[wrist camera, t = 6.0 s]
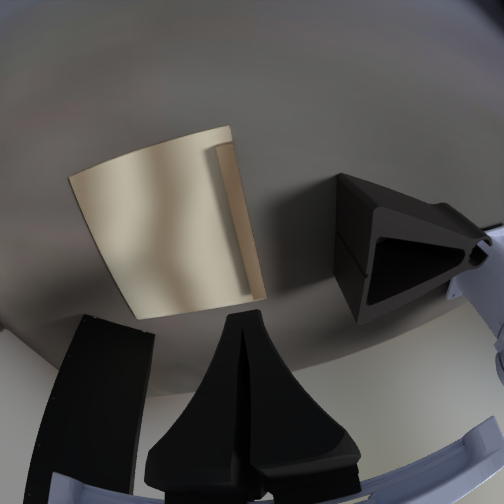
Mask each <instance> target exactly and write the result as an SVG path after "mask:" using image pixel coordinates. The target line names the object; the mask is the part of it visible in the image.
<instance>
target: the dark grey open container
mask: <svg viewBox="0 0 504 504" xmlns="http://www.w3.org/2000/svg"><path fill="white" fill-rule="evenodd" d="M336 229H337V230H338V231H337V232H336V235H335V255H334V271H333V274H334V276H335V278H336V280H337V282H338V284H339V286H340V289H341V291H342V293H343V295H344V297H345V299H346V301H347V303H348V306H349V308H350V310H351V312H352V314H353V316H354V319H355V321H356V323H357V325H358V326H362V325H364V324H366V323H369V322H371V321H373V320H375V319H377V318H379V317H381V316H383V315H385V314H387V313H389V312H391V311H393V310H395V309H397V308H399V307H401V306H403V305H405V304H407V303H409V302H411V301H413V300H415V299H417V298H418V297H420V296H422V295H424V294H426V293H428V292H429V291H431V290H433V289H435V288H436V287H438V286H440V285H442V284H443V283H445V282H447V281H448V280H450V279H452V278H453V277H455V276H457V275H458V274H460V273H462V272H464V271H467V270H473V269H477V268H479V267H480V266H482V265H483V264H484V263H485V261H486V260H487V259H488V257H489V255H488V254H487V253H486V252H485V251H484V250H483V249H482V248H481V247H479V246H478V245H477V244H478V243H479V242H480V241H482V240H483V241H484V242H485V243H486V244H487V245H489V246H490V247H491V246H492V245H493V242H492V239H491V237H490V236H488V235H487V234H486V233H485V232H484V231H482V230H481V229H480V228H479V227H477V226H476V225H475V224H474V223H472V222H471V221H470V220H469V219H467V218H466V217H465V216H463V215H462V214H461V213H460V212H458V211H457V210H456V209H454V208H453V207H451V206H450V205H449V204H447V203H440V204H428V203H425V202H423V201H420V200H418V199H415V198H413V197H410V196H407V195H405V194H402V193H399V192H397V191H394V190H391V189H389V188H386V187H383V186H380V185H377V184H374V183H371V182H368V181H365V180H362V179H359V178H356V177H353V176H350V175H347V174H343V173H340V174H339V175H338V176H337V199H336ZM379 237H388V238H391V239H389V240H386V241H384V242H381V243H378V244H376V240H377V239H378V238H379Z"/></svg>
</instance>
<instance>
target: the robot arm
mask: <svg viewBox="0 0 504 504" xmlns="http://www.w3.org/2000/svg"><path fill="white" fill-rule="evenodd" d="M484 232H485V233H486V234H487V235H488V236H490V237H491V239H492V242H493V245H492V246H491V247H490V246H489V245H487V244H486V243H485V242H484V241H483V240H482V241H480V242H479V243H478V244H477V245H478V246H479V247H481V248H482V249H483V250H484V251H485V252H486V253H487V254H488V255H489V257H488V259H487V260H486V261H485V263H484V264H483V265H482V266H480V267H479V268H477V269H473V270H467V271H464V272H462V273H460V274H458V275H457V276H455V277H453V278H452V279H451V280H450V284H449V287H448V291H447V294H446V299H447V300H450V299H453V298H456V297H458V296H461V295H463V294H464V295H465V297H466V298H467V299H468V300H469V302H470V303H471V304H472V305H473V307H474V308H475V309H476V310H477V312H478V313H479V315H480V316H481V317H482V319H483V320H484V321H485V323H486V324H487V325H488V327H489V328H490V329H491V331H492V332H493V334H494V335H495V337H496V338H497V341H496V343H495V344H494V346H495V348H496V349H497V351H498V352H497V354H496V358H495V362H496V370H497V374H498V377H499V379H500V381H501V382H502V384H503V385H504V226H501V227H498V228H494V229H491V230H487V231H484ZM360 458H361V453H360V451H359V449H358V447H357V445H356V443H355V442H354V441H353V439H352V438H351V436H350V435H349V434H348V432H347V431H346V430H345V429H344V428H343V427H342V426H341V425H339V424H338V423H337V422H336V421H335V420H334V419H333V418H331V417H330V416H329V415H328V414H327V413H326V412H325V411H324V410H323V409H322V408H321V407H320V406H319V405H318V404H317V403H316V402H315V401H314V400H313V399H312V398H311V396H310V395H309V394H308V393H307V392H306V391H305V390H304V388H303V387H302V386H301V385H300V384H299V382H298V381H297V380H296V379H295V377H294V376H293V375H292V373H291V372H290V370H289V369H288V367H287V366H286V365H285V363H284V361H283V360H282V358H281V357H280V355H279V353H278V352H277V350H276V348H275V346H274V345H273V343H272V341H271V339H270V337H269V335H268V333H267V330H266V328H265V326H264V322H263V318H262V314H261V311H260V310H258V309H256V310H251V311H245V312H239V313H234V314H229V315H228V316H227V317H226V322H225V325H224V329H223V332H222V335H221V338H220V341H219V344H218V346H217V349H216V351H215V354H214V357H213V359H212V361H211V363H210V366H209V368H208V370H207V372H206V374H205V376H204V378H203V380H202V382H201V384H200V386H199V387H198V389H197V391H196V393H195V394H194V396H193V398H192V399H191V401H190V402H189V404H188V405H187V407H186V408H185V410H184V411H183V413H182V414H181V415H180V417H179V418H178V419H177V420H176V422H175V423H174V424H173V425H172V427H171V428H170V429H169V430H168V432H167V433H166V434H165V435H164V436H163V437H162V438H161V439H160V440H159V441H158V442H157V443H156V444H155V445H154V446H153V447H152V448H151V449H150V450H149V452H148V456H147V460H146V466H145V476H144V482H145V483H146V484H147V485H148V486H150V487H152V488H155V489H158V490H160V491H163V492H165V500H161V499H153V498H146V497H140V496H134V495H129V494H123V493H119V492H114V491H110V490H105V489H101V488H98V487H94V486H90V485H87V484H83V483H82V482H80V481H78V480H75V479H73V478H70V477H68V476H65V475H62V474H59V473H56V472H53V475H52V480H51V486H50V493H49V500H48V504H338V503H342V502H345V501H349V500H353V499H356V498H360V497H363V496H366V495H369V494H371V495H370V496H369V497H368V500H364V501H361V502H358V503H355V504H453V503H454V502H456V501H458V500H459V499H461V498H462V497H464V496H465V495H467V494H468V493H469V492H471V491H472V490H474V489H475V488H477V487H478V486H479V485H480V484H482V483H483V482H485V481H486V480H487V479H489V478H490V477H492V476H493V475H494V474H495V473H497V472H498V471H499V470H501V469H502V468H503V467H504V437H503V435H502V432H501V430H500V427H499V425H498V423H497V421H496V419H495V416H491V417H490V418H488V419H487V420H485V421H484V422H482V423H481V424H479V425H478V426H476V427H474V428H473V429H472V430H470V431H469V432H468V433H466V434H465V435H464V436H463V437H462V438H461V439H459V440H457V441H455V442H454V443H452V444H450V445H448V446H446V447H444V448H442V449H440V450H438V451H437V452H434V453H432V454H430V455H428V456H426V457H424V458H422V459H420V460H418V461H415V462H413V463H411V464H408V465H406V466H403V467H401V468H398V469H396V470H394V471H391V472H388V473H385V474H382V475H380V476H377V477H374V478H371V479H368V480H364V481H361V482H360V481H359V476H358V473H359V470H358V466H357V462H358V461H359V459H360ZM267 492H269V493H271V494H272V495H273V498H274V500H266V501H254V500H260V499H261V498H262V497H264V495H266V493H267Z"/></svg>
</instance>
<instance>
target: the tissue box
mask: <svg viewBox="0 0 504 504" xmlns="http://www.w3.org/2000/svg"><path fill="white" fill-rule="evenodd" d="M154 339H155V335H154V334H150V333H147V332H145V331H140V330H136V329H132V328H129V327H125V326H122V325H118V324H115V323H111V322H108V321H105V320H102V319H98V318H96V317H92V316H88V315H84V316H83V318H82V320H81V322H80V324H79V326H78V328H77V331H76V333H75V335H74V337H73V339H72V342H71V344H70V346H69V348H68V351H67V353H66V355H65V358H64V360H63V363H62V365H61V367H60V370H59V373H58V375H57V378H56V380H55V383H54V386H53V389H52V391H51V394H50V397H49V400H48V402H47V406H46V408H45V412H44V415H43V418H42V421H41V424H40V428H39V431H38V435H37V438H36V442H35V446H34V450H33V454H32V458H31V462H30V467H29V471H28V477H27V482H26V487H25V493H24V500H23V504H48V500H49V493H50V486H51V480H52V475H53V472H56V473H59V474H62V475H65V476H68V477H70V478H73V479H75V480H78V481H80V482H82V483H83V484H87V485H90V486H94V487H98V488H101V489H105V490H110V491H114V492H119V493H123V494H129V495H133V488H134V478H135V468H136V459H137V451H138V443H139V436H140V429H141V422H142V416H143V409H144V404H145V398H146V392H147V387H148V381H149V376H150V369H151V361H152V354H153V346H154Z"/></svg>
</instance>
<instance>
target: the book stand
mask: <svg viewBox="0 0 504 504" xmlns="http://www.w3.org/2000/svg"><path fill="white" fill-rule="evenodd" d="M69 179H70V182H71V185H72V187H73V190H74V193H75V195H76V198H77V200H78V203H79V205H80V208H81V210H82V212H83V215H84V217H85V220H86V222H87V224H88V226H89V229H90V231H91V233H92V235H93V237H94V240H95V242H96V244H97V246H98V248H99V250H100V252H101V254H102V256H103V258H104V260H105V262H106V264H107V266H108V268H109V270H110V272H111V274H112V276H113V278H114V280H115V281H116V283H117V285H118V287H119V289H120V291H121V292H122V294H123V296H124V298H125V299H126V301H127V303H128V305H129V306H130V308H131V310H132V311H133V313H134V315H135V316H136V318H137V320H139V319H146V318H154V317H161V316H168V315H174V314H181V313H188V312H194V311H200V310H206V309H213V308H218V307H224V306H230V305H236V304H241V303H247V302H252V301H258V300H263V299H267V297H266V292H265V287H264V283H263V278H262V273H261V269H260V264H259V259H258V255H257V250H256V246H255V241H254V236H253V232H252V227H251V223H250V218H249V213H248V209H247V204H246V200H245V195H244V190H243V186H242V181H241V177H240V172H239V168H238V163H237V159H236V154H235V150H234V145H233V141H232V136H231V132H230V127H229V125H226V126H222V127H218V128H213V129H209V130H205V131H201V132H197V133H193V134H189V135H186V136H182V137H178V138H175V139H171V140H168V141H164V142H161V143H158V144H155V145H151V146H148V147H145V148H142V149H139V150H136V151H133V152H130V153H127V154H125V155H122V156H119V157H116V158H113V159H111V160H108V161H106V162H103V163H100V164H98V165H95V166H93V167H90V168H88V169H85V170H83V171H81V172H78V173H76V174H74V175H72V176H70V177H69Z"/></svg>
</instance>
